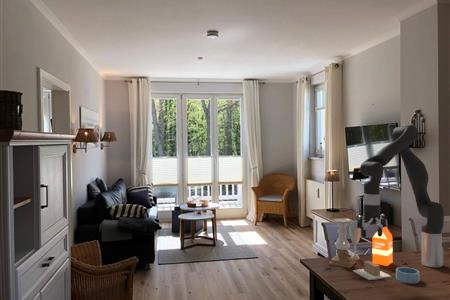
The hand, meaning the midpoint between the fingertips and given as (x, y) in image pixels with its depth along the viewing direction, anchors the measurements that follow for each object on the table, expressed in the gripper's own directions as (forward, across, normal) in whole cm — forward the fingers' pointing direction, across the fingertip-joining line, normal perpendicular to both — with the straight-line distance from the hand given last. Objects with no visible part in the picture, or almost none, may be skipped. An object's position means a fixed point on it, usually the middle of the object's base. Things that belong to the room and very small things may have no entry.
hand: (371, 236), depth 176 cm
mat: (+19, 0, 0) cm, 19 cm away
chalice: (+19, -7, -25) cm, 32 cm away
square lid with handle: (+18, 0, 0) cm, 18 cm away
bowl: (+19, -12, +10) cm, 24 cm away
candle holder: (+19, +5, -18) cm, 27 cm away
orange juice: (+19, -16, -14) cm, 29 cm away
